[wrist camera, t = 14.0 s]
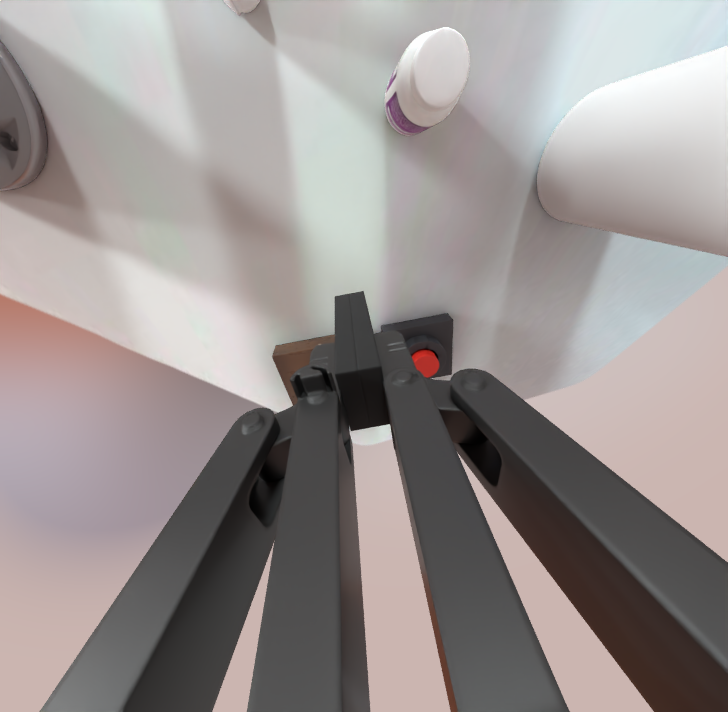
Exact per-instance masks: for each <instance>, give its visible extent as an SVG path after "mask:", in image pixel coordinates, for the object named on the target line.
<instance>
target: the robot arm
mask: <svg viewBox="0 0 728 712" xmlns="http://www.w3.org/2000/svg"><path fill="white" fill-rule="evenodd" d="M46 154H47V135H46V129H45V124H44V120H43V116H42V113H41V110H40V107H39V104H38V102H37V100H36V97H35V95H34V93H33V91H32V89H31V87H30V85H29V83H28V81H27V79H26V77H25V76H24V74H23V72H22V71H21V69H20V67H19V66H18V64H17V63H16V61H15V60H14V58H13V57H12V55H11V54H10V53H9V51H8V50H7V48H6V47H5V46H4V44H3V43H2V42H1V41H0V191H2V190H12V189H17V188H20V187H23V186H25V185H27V184H28V183H30V182H32V181H33V180H34V179H35V178H36V177H37V176H38V174H39V173H40V172H41V170H42V168H43V166H44V163H45V160H46ZM290 382H291V385H292V387H293V390H294V392H295V394H296V397H297V399H298V400H297V403H296V404H295V405H294V406H292V407H290V408H288V409H286V410H284V411H281V412H279V413H277V414H274V413H273V411H271V410H270V409H268V408H257V409H254V410H251V411H249V412H247V413H245V414H244V415H242V416H241V417H240V418H239V419H238V420H237V421H236V422H235V423H234V425H233V426H232V428H231V429H230V430H229V432H228V434H227V435H226V436H225V438H224V439H223V441H222V442H221V444H220V445H219V447H218V448H217V450H216V451H215V453H214V454H213V456H212V457H211V459H210V460H209V462H208V463H207V465H206V466H205V467H204V469H203V470H202V472H201V473H200V475H199V476H198V478H197V479H196V481H195V482H194V484H193V485H192V487H191V488H190V490H189V491H188V493H187V494H186V496H185V497H184V499H183V500H182V502H181V503H180V504H179V506H178V508H177V509H176V510H175V512H174V513H173V515H172V516H171V518H170V519H169V521H168V522H167V524H166V525H165V527H164V528H163V530H162V531H161V533H160V534H159V536H158V537H157V539H156V540H155V542H154V543H153V545H152V546H151V547H150V549H149V551H148V552H147V553H146V555H145V556H144V558H143V559H142V561H141V562H140V564H139V565H138V567H137V568H136V570H135V571H134V573H133V574H132V576H131V577H130V579H129V580H128V582H127V583H126V585H125V586H124V588H123V589H122V591H121V592H120V593H119V595H118V596H117V598H116V600H115V601H114V602H113V604H112V605H111V607H110V608H109V610H108V611H107V613H106V614H105V616H104V617H103V619H102V620H101V622H100V623H99V625H98V626H97V628H96V629H95V630H94V632H93V633H92V635H91V636H90V638H89V639H88V641H87V642H86V644H85V645H84V647H83V648H82V650H81V651H80V653H79V654H78V656H77V657H76V659H75V660H74V662H73V663H72V665H71V666H70V668H69V669H68V671H67V672H66V673H65V675H64V676H63V678H62V679H61V681H60V682H59V684H58V685H57V687H56V688H55V690H54V691H53V693H52V694H51V696H50V697H49V699H48V700H47V702H46V703H45V705H44V706H43V708H42V709H41V710H40V712H212V710H213V708H214V705H215V702H216V699H217V697H218V694H219V691H220V688H221V686H222V683H223V680H224V677H225V675H226V672H227V669H228V666H229V664H230V661H231V658H232V655H233V653H234V650H235V647H236V644H237V642H238V639H239V636H240V633H241V631H242V628H243V625H244V622H245V620H246V617H247V614H248V611H249V609H250V606H251V603H252V600H253V598H254V595H255V592H256V590H257V587H258V584H259V581H260V579H261V576H262V573H263V570H264V568H265V565H266V562H267V559H268V557H269V554H270V551H271V548H272V546H273V543H274V548H273V555H272V560H271V566H270V572H269V579H268V585H267V592H266V597H265V603H264V609H263V616H262V622H261V628H260V634H259V641H258V647H257V653H256V659H255V666H254V671H253V678H252V684H251V690H250V696H249V702H248V709H247V712H370V701H369V687H368V686H369V685H368V670H367V657H366V656H367V655H366V641H365V627H364V610H363V596H362V581H361V567H360V551H359V536H358V522H357V507H356V491H355V478H354V461H353V446H352V441H351V437H350V432H349V426H350V430H351V431H354V430H359V429H365V428H370V427H376V426H381V425H387V424H390V426H391V432H392V438H393V444H394V449H395V452H396V456H397V461H398V466H399V471H400V475H401V480H402V484H403V489H404V494H405V499H406V503H407V508H408V513H409V517H410V522H411V527H412V531H413V536H414V541H415V546H416V550H417V555H418V560H419V564H420V569H421V574H422V578H423V583H424V588H425V592H426V597H427V602H428V607H429V611H430V616H431V620H432V625H433V630H434V634H435V639H436V644H437V649H438V653H439V658H440V663H441V667H442V672H443V676H444V682H445V686H446V691H447V696H448V700H449V705H450V710H451V712H570V711H569V709H568V707H567V705H566V703H565V701H564V698H563V696H562V694H561V691H560V689H559V687H558V684H557V682H556V680H555V677H554V675H553V673H552V671H551V668H550V666H549V664H548V661H547V659H546V657H545V654H544V652H543V650H542V647H541V645H540V643H539V640H538V638H537V636H536V634H535V632H534V629H533V627H532V624H531V622H530V620H529V617H528V615H527V613H526V611H525V608H524V606H523V604H522V601H521V599H520V597H519V594H518V592H517V590H516V587H515V585H514V583H513V581H512V578H511V576H510V574H509V571H508V569H507V567H506V564H505V562H504V560H503V557H502V555H501V553H500V550H499V548H498V546H497V544H496V541H495V539H494V537H493V534H492V532H491V530H490V527H489V525H488V523H487V521H486V518H485V516H484V513H483V511H482V509H481V507H480V504H479V502H478V500H477V497H476V495H475V493H474V490H473V488H472V486H471V483H470V481H469V479H468V476H467V474H466V472H465V470H464V468H463V465H462V463H461V460H460V458H459V456H458V454H459V455H460V456H461V458H462V459H463V460H464V462H465V463H466V464H467V466H468V467H469V468H470V469H471V471H472V472H473V473H474V475H475V476H476V477H477V479H478V480H479V481H480V483H481V484H482V485H483V487H484V488H485V489H486V490H487V492H488V493H489V495H490V496H491V497H492V499H493V500H494V501H495V502H496V504H497V505H498V506H499V508H500V509H501V510H502V512H503V513H504V514H505V516H506V517H507V518H508V520H509V521H510V522H511V523H512V525H513V526H514V528H515V529H516V530H517V531H518V533H519V534H520V535H521V537H522V538H523V539H524V541H525V542H526V543H527V545H528V546H529V547H530V549H531V550H532V551H533V553H534V554H535V555H536V557H537V558H538V559H539V560H540V562H541V563H542V564H543V566H544V567H545V568H546V570H547V571H548V572H549V574H550V575H551V576H552V577H553V579H554V580H555V582H556V583H557V584H558V586H559V587H560V588H561V590H562V591H563V592H564V593H565V595H566V596H567V597H568V599H569V600H570V601H571V603H572V604H573V605H574V607H575V608H576V609H577V611H578V612H579V613H580V615H581V616H582V617H583V619H584V620H585V621H586V622H587V624H588V625H589V626H590V628H591V629H592V630H593V632H594V633H595V634H596V635H597V637H598V638H599V639H600V641H601V642H602V644H603V645H604V646H605V648H606V649H607V650H608V652H609V653H610V654H611V655H612V657H613V658H614V659H615V661H616V662H617V663H618V665H619V666H620V667H621V669H622V670H623V671H624V673H625V674H626V675H627V676H628V678H629V679H630V680H631V682H632V683H633V684H634V686H635V687H636V688H637V690H638V691H639V692H640V693H641V695H642V696H643V698H644V699H645V700H646V702H647V703H648V704H649V706H650V707H651V708H652V709H653V711H654V712H728V562H726V561H725V560H724V559H722V558H721V557H720V556H719V555H717V554H716V553H715V552H714V551H712V550H711V549H710V548H708V547H707V546H706V545H705V544H704V543H702V542H701V541H700V540H699V539H697V538H696V537H695V536H694V535H692V534H691V533H690V532H689V531H687V530H686V529H685V528H684V527H682V526H681V525H680V524H678V523H677V522H676V521H675V520H673V519H672V518H671V517H670V516H668V515H667V514H666V513H665V512H663V511H662V510H661V509H660V508H658V507H657V506H656V505H654V504H653V503H652V502H651V501H649V500H648V499H647V498H646V497H644V496H643V495H642V494H641V493H639V492H638V491H637V490H636V489H635V488H633V487H632V486H631V485H629V484H628V483H627V482H626V481H624V480H623V479H622V478H621V477H619V476H618V475H617V474H616V473H614V472H613V471H612V470H610V469H609V468H608V467H607V466H606V465H604V464H603V463H602V462H601V461H599V460H598V459H597V458H596V457H594V456H593V455H592V454H590V453H589V452H588V451H587V450H585V449H584V448H583V447H582V446H580V445H579V444H578V443H577V442H575V441H574V440H573V439H572V438H570V437H569V436H568V435H567V434H565V433H564V432H563V431H561V430H560V429H559V428H558V427H557V426H555V425H554V424H553V423H551V422H550V421H549V420H548V419H547V418H545V417H544V416H543V415H541V414H540V413H539V412H538V411H536V410H535V409H534V408H533V407H531V406H530V405H529V404H528V403H526V402H525V401H524V400H523V399H521V398H520V397H519V396H518V395H516V394H515V393H514V392H513V391H511V390H510V389H509V388H508V387H506V386H505V385H504V384H503V383H501V382H500V381H499V380H498V379H496V378H495V377H494V376H492V375H491V374H489V373H487V372H486V371H482V370H478V369H465V370H460V371H458V372H456V373H455V374H454V375H453V376H452V378H451V381H443V380H433V379H429V378H426V377H424V375H423V374H422V373H421V372H420V371H419V370H417V369H416V366H415V364H414V362H413V359H412V357H411V354H410V352H409V350H408V347H407V345H406V343H405V340H404V338H403V335H402V334H400V333H399V332H398V331H396V330H392V331H386V332H381V333H376V334H374V333H373V329H372V325H371V321H370V316H369V312H368V308H367V304H366V300H365V296H364V291H361V292H356V293H351V294H345V295H340V296H335V342H332V343H327V344H321V345H316V346H315V348H314V349H313V350H312V352H311V353H310V362H309V365H306V366H304V367H302V368H300V369H298V370H297V371H296V372H295V373H294V374H293V375H292V376H291V378H290ZM457 452H458V453H457ZM274 540H275V542H274Z"/></svg>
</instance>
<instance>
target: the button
mask: <svg viewBox="0 0 728 712" xmlns="http://www.w3.org/2000/svg"><path fill="white" fill-rule="evenodd" d="M411 357H412V359H413V362H414V364H415V366H416V369H417V370H419V371H420V372H421V373H422V374H423V375H424V377H426V378H428V377H431V376H432V375H434V374H435V373H436V372H437V371H438V369H439V361H438V359H437V357H436V356H435V354H434V353H433V352H432V351H431V350H428V349H421V350H418V351H416V352H414V353H413V354H412V355H411Z"/></svg>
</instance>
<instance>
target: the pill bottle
mask: <svg viewBox="0 0 728 712" xmlns="http://www.w3.org/2000/svg"><path fill="white" fill-rule="evenodd" d="M469 70H470V55H469V50H468V47H467V44H466V42H465V40H464V38H463V37H462V35H461V34H460V33H459V32H457V31H456V30H454V29H452V28H445V27H444V28H440V29H437V30H435V31H428V32H426V33H423V34H421V35H420V36H418V37H417V38H416V39H415V40H414V41H413V42H412V43H411V44H410V45H409V46H408V47H407V49H406V50H405V52H404V54H403V56H402V58H401V59H400V61H399V63H398V65H397V66H396V68H395V70H394V72H393V74H392V76H391V78H390V80H389V82H388V85H387V88H386V92H385V102H384V104H385V112H386V116H387V119H388V121H389V123H390V124H391V126H392V127H393V128H394V129H395V130H396V131H397V132H399V133H400V134H402V135H406V136H411V135H416V134H418V133H421V132H422V131H424V130H426V129H428V128H430V127H432V126H434V125H436V124H438V123H440V122H441V121H442V120H444V119H445V118H446V117H447V116H448V115H449V114H450V113H451V111H452V110H453V109H454V107H455V105H456V104H457V102H458V100H459V97H460V95H461V92H462V91H463V89H464V87H465V85H466V82H467V79H468V75H469Z"/></svg>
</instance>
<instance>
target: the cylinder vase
mask: <svg viewBox="0 0 728 712" xmlns="http://www.w3.org/2000/svg"><path fill="white" fill-rule="evenodd" d="M537 191H538V196H539V200H540V202H541V204H542V206H543V208H544V209H545V211H546V212H547V213H548V214H549V215H550V216H552V217H553V218H555V219H557V220H560V221H563V222H568V223H573V224H577V225H582V226H587V227H591V228H596V229H601V230H605V231H610V232H615V233H619V234H624V235H628V236H633V237H638V238H642V239H647V240H652V241H656V242H661V243H666V244H670V245H675V246H680V247H684V248H689V249H694V250H698V251H703V252H708V253H712V254H717V255H722V256H726V257H728V46H725V47H722V48H719V49H716V50H713V51H710V52H707V53H704V54H700V55H697V56H694V57H691V58H688V59H685V60H682V61H679V62H676V63H673V64H669V65H666V66H663V67H660V68H657V69H654V70H651V71H648V72H645V73H642V74H638V75H635V76H632V77H629V78H626V79H623V80H620V81H617V82H614V83H611V84H608V85H605V86H603V87H600V88H598V89H597V90H595V91H593V92H591V93H590V94H588V95H587V96H585V97H584V98H583V99H582V100H580V101H579V102H578V103H577V104H576V105H575V106H574V107H573V108H572V109H571V110H570V111H569V112H568V113H567V114H566V115H565V116H564V117H563V119H562V120H561V121H560V122H559V124H558V125H557V127H556V128H555V130H554V131H553V133H552V135H551V136H550V138H549V140H548V142H547V144H546V146H545V149H544V151H543V154H542V157H541V160H540V163H539V168H538V174H537Z"/></svg>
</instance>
